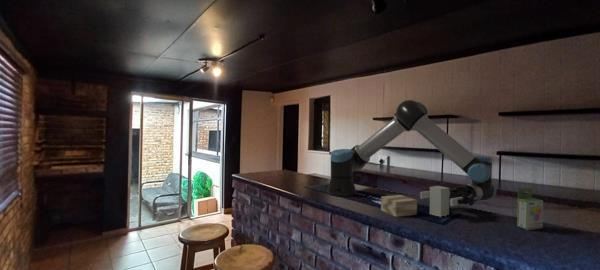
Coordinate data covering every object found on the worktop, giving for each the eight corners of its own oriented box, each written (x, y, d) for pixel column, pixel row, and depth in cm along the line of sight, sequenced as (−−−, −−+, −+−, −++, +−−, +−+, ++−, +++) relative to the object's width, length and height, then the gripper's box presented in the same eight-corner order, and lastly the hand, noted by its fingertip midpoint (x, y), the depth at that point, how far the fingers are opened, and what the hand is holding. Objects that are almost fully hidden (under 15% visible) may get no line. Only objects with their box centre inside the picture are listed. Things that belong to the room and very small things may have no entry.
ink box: (528, 230, 98) (528, 191, 97) (516, 226, 101) (517, 188, 101) (543, 228, 100) (543, 190, 99) (531, 225, 103) (531, 187, 103)
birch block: (381, 210, 123) (381, 196, 123) (400, 208, 126) (400, 194, 126) (396, 217, 113) (396, 202, 113) (416, 215, 116) (416, 200, 116)
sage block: (429, 213, 117) (429, 186, 117) (437, 212, 120) (438, 185, 119) (440, 217, 113) (440, 189, 113) (448, 215, 115) (449, 187, 115)
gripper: (499, 209, 114) (465, 216, 104) (442, 196, 136) (410, 201, 126) (499, 190, 114) (466, 195, 104) (442, 180, 136) (410, 184, 126)
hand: (435, 198), depth 115 cm, fingers open, 13 cm apart
